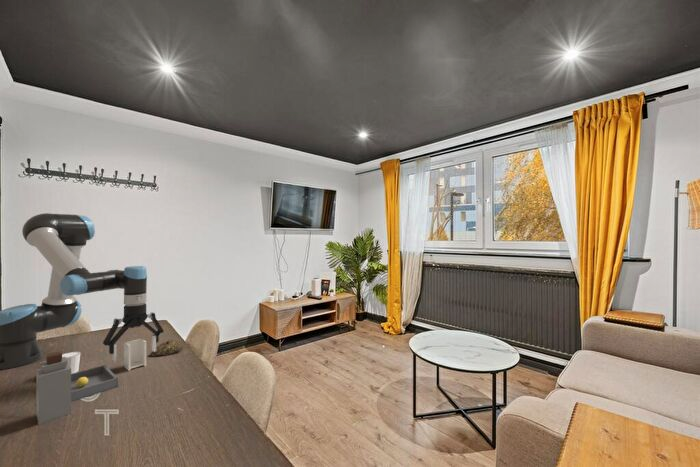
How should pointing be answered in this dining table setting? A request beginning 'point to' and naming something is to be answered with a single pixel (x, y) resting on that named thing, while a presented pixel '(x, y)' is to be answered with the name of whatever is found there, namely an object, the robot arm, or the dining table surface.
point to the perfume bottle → (53, 388)
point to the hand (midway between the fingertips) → (134, 355)
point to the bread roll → (167, 348)
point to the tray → (93, 382)
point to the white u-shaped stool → (134, 353)
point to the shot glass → (73, 360)
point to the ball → (82, 381)
